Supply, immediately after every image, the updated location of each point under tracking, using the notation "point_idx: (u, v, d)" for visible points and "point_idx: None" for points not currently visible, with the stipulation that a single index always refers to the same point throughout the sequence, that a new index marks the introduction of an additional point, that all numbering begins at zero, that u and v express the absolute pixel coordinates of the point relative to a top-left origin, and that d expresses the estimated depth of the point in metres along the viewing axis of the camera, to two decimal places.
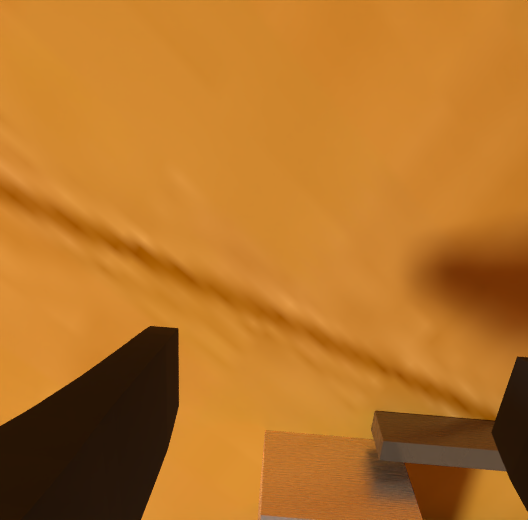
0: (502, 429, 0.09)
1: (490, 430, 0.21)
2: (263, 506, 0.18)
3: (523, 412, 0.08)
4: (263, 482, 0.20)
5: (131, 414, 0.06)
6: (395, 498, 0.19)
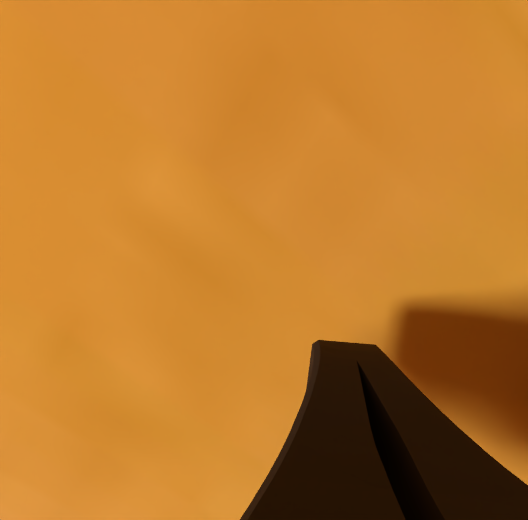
0: None
1: None
2: None
3: None
4: None
5: None
6: None
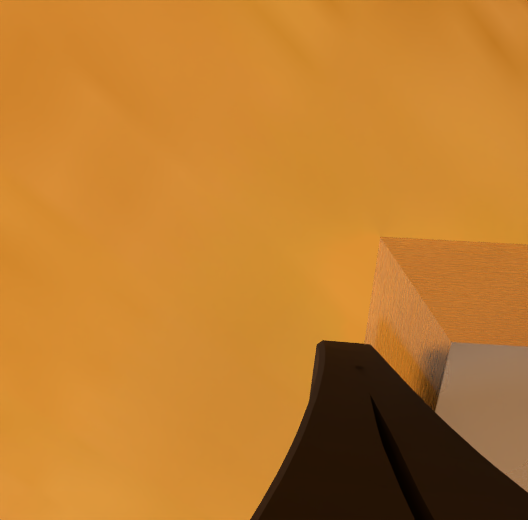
0: None
1: None
2: (447, 328, 0.07)
3: None
4: (420, 295, 0.08)
5: None
6: None
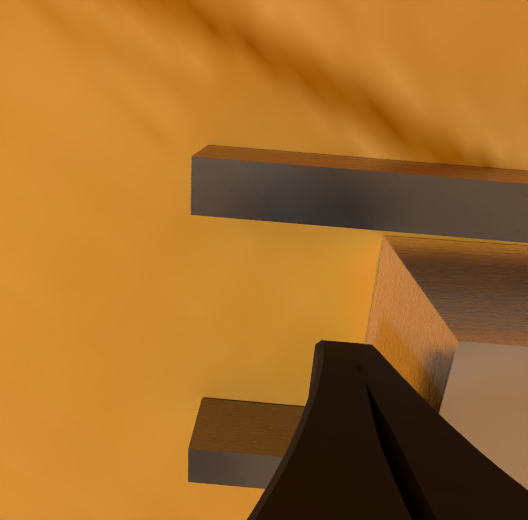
0: None
1: (448, 168, 0.10)
2: (453, 328, 0.07)
3: None
4: (425, 294, 0.08)
5: None
6: None
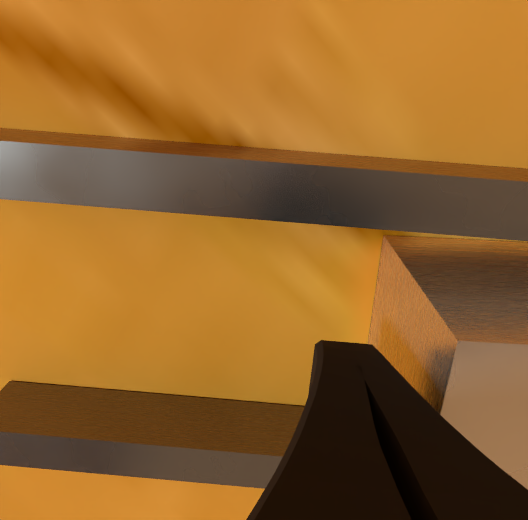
0: None
1: (182, 145, 0.10)
2: (453, 327, 0.07)
3: None
4: (425, 294, 0.08)
5: None
6: None
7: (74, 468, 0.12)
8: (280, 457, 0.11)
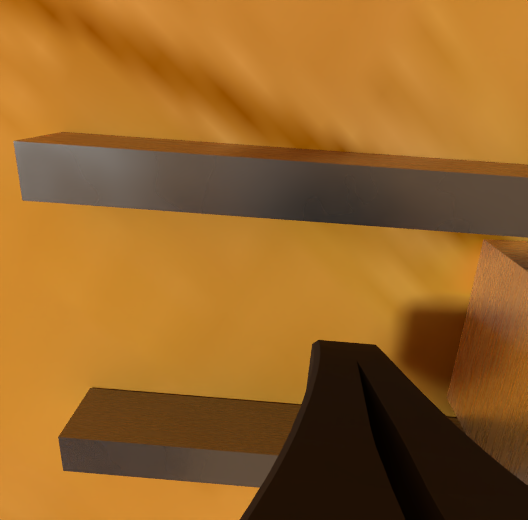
0: None
1: (292, 151, 0.10)
2: None
3: None
4: None
5: None
6: None
7: (166, 476, 0.12)
8: None
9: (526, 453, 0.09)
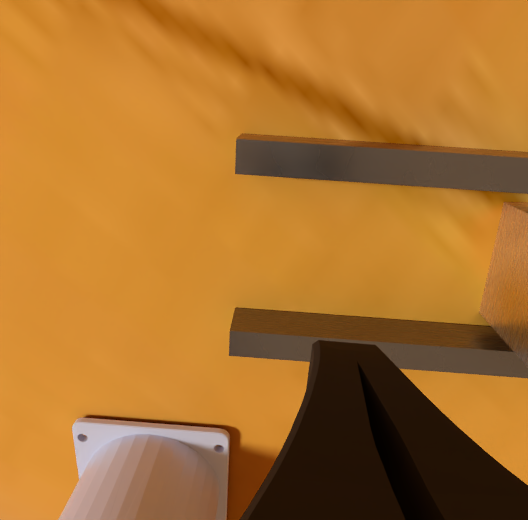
0: None
1: (390, 144, 0.16)
2: None
3: None
4: None
5: None
6: None
7: (297, 358, 0.18)
8: (437, 347, 0.17)
9: None
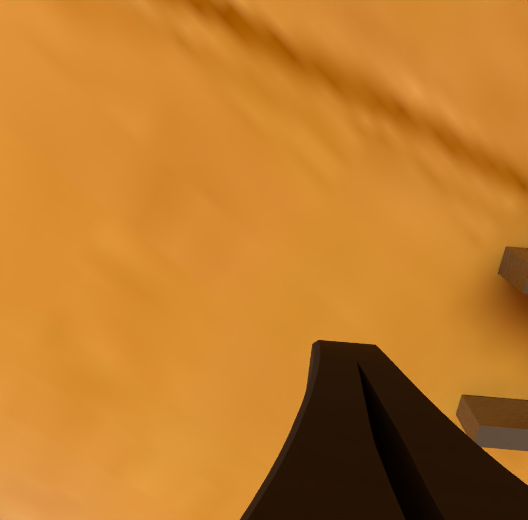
0: None
1: None
2: None
3: None
4: None
5: None
6: None
7: None
8: None
9: None
